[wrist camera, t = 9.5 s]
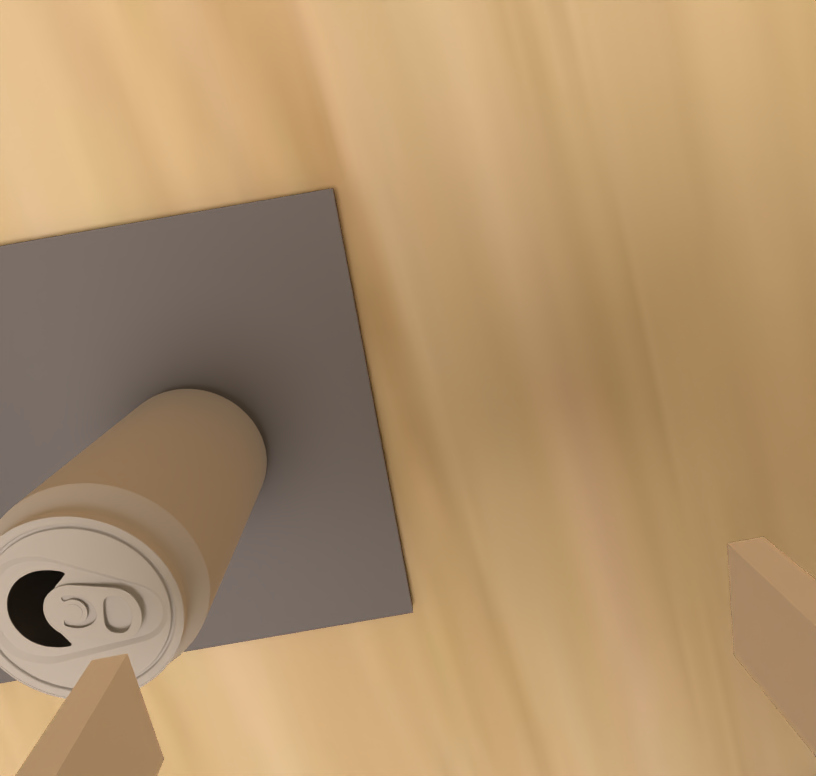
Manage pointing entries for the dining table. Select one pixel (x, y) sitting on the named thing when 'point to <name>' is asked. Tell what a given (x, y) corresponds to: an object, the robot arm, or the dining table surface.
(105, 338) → the mount
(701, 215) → the dining table surface
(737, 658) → the robot arm
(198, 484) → the beverage can
